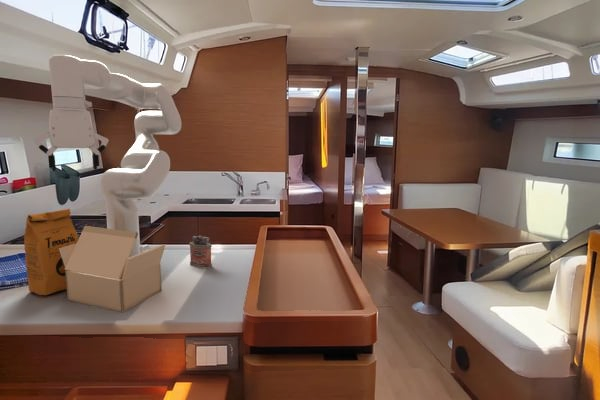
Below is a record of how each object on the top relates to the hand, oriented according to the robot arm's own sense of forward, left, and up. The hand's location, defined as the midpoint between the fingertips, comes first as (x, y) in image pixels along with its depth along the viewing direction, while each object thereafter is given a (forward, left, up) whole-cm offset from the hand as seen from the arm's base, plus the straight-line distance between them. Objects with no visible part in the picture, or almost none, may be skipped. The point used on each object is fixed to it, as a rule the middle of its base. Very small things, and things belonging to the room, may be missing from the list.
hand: (75, 169), depth 103 cm
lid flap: (+6, +14, -20) cm, 25 cm away
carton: (+3, +14, -33) cm, 36 cm away
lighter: (-26, +21, -33) cm, 47 cm away
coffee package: (+5, -4, -33) cm, 34 cm away
